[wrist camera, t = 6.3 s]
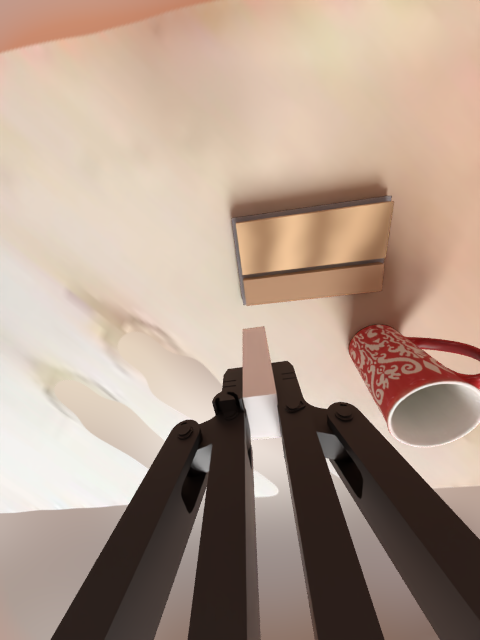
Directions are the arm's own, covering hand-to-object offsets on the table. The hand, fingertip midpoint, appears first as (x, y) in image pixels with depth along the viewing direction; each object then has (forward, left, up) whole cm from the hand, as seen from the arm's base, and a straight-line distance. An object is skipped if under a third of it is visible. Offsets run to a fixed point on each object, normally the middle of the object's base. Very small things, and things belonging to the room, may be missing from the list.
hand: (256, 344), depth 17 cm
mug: (+18, -12, -17) cm, 28 cm away
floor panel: (+7, +2, -17) cm, 19 cm away
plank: (+7, +4, -16) cm, 18 cm away
